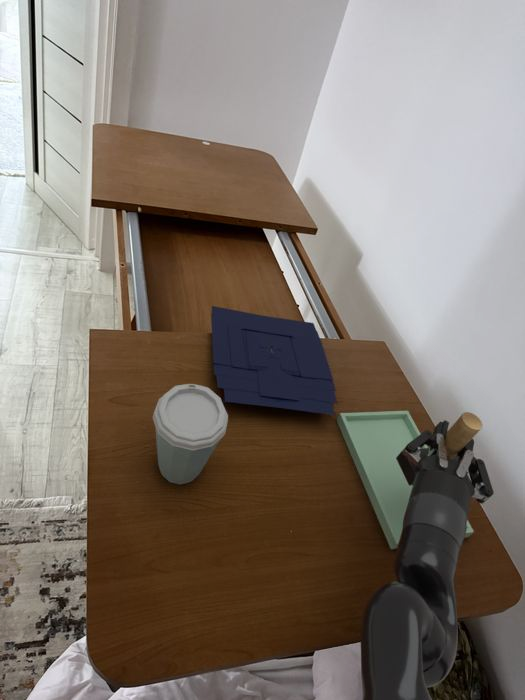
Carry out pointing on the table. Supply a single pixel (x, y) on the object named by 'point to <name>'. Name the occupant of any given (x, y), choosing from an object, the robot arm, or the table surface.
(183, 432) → the disposable coffee cup
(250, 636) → the table surface
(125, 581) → the table surface
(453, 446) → the wooden handled stamp
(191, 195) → the table surface
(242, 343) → the folded navy cloth
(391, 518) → the tray
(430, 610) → the robot arm
